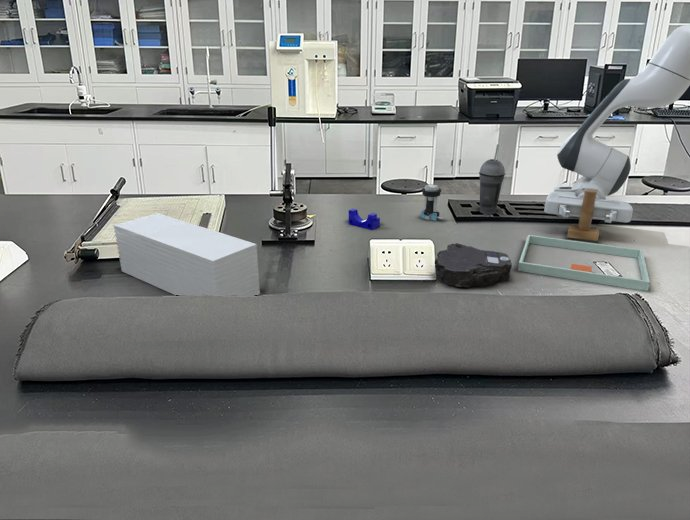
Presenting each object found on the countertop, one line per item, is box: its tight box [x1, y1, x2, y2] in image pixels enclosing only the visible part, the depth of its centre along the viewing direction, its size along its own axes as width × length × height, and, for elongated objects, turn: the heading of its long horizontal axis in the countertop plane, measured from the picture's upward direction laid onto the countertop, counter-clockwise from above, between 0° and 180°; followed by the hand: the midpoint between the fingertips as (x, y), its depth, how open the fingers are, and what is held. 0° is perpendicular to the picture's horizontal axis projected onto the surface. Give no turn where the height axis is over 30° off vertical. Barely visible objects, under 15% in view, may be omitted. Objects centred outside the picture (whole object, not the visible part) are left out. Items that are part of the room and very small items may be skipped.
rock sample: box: [434, 242, 513, 289], centre depth 114 cm, size 18×16×5 cm
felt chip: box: [570, 263, 593, 273], centre depth 114 cm, size 4×4×1 cm
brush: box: [566, 189, 600, 244], centre depth 132 cm, size 7×5×13 cm
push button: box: [420, 183, 444, 222], centre depth 147 cm, size 7×5×10 cm
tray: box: [517, 234, 651, 292], centre depth 119 cm, size 25×19×3 cm
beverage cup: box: [478, 143, 506, 215], centre depth 153 cm, size 7×7×20 cm
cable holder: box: [348, 208, 381, 231], centre depth 145 cm, size 8×4×4 cm, turn 53°
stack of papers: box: [113, 212, 261, 296], centre depth 109 cm, size 32×11×11 cm, turn 53°
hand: (587, 216), depth 128 cm, fingers open, 8 cm apart
